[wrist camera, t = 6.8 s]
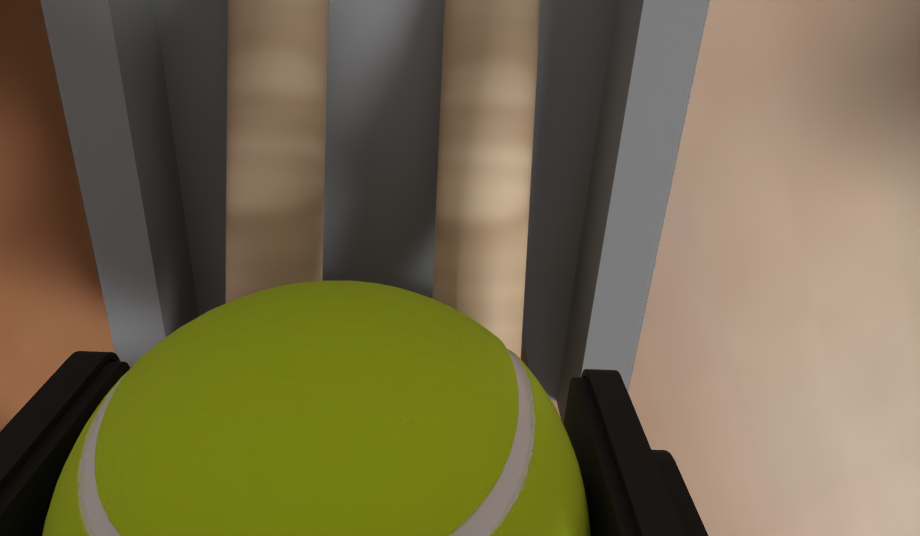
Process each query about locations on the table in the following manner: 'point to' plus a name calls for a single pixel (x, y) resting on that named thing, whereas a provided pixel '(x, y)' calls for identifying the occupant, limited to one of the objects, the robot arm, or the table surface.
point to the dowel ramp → (459, 154)
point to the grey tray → (381, 160)
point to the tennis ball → (324, 428)
